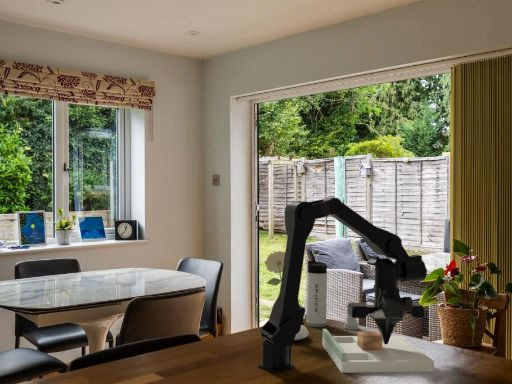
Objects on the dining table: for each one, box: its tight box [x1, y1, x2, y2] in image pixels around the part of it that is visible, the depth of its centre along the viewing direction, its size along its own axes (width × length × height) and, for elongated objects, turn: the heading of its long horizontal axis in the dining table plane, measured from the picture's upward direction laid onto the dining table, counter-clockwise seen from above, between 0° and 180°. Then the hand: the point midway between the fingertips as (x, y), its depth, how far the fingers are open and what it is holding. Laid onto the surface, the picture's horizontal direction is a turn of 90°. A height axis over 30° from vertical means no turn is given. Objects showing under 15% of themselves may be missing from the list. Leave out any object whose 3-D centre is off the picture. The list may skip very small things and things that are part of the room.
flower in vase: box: [264, 250, 309, 341], centre depth 158 cm, size 13×11×25 cm
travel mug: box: [305, 260, 328, 328], centre depth 174 cm, size 6×7×20 cm
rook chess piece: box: [343, 301, 359, 331], centre depth 170 cm, size 4×4×8 cm
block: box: [356, 330, 382, 350], centre depth 140 cm, size 5×5×4 cm
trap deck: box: [321, 328, 435, 374], centre depth 140 cm, size 22×23×4 cm
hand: (385, 343), depth 140 cm, fingers closed
